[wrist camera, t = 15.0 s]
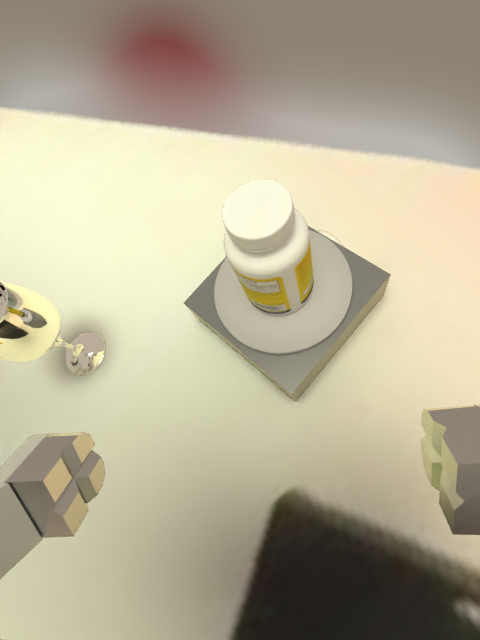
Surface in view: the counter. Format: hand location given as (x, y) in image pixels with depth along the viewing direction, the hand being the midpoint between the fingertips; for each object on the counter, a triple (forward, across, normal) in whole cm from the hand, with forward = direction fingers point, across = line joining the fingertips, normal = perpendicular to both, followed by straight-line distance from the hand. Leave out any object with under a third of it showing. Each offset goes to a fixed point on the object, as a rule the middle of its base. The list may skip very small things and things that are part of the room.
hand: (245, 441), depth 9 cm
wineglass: (+22, +20, +8) cm, 31 cm away
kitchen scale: (+24, 0, +6) cm, 25 cm away
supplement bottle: (+20, 0, +3) cm, 21 cm away
